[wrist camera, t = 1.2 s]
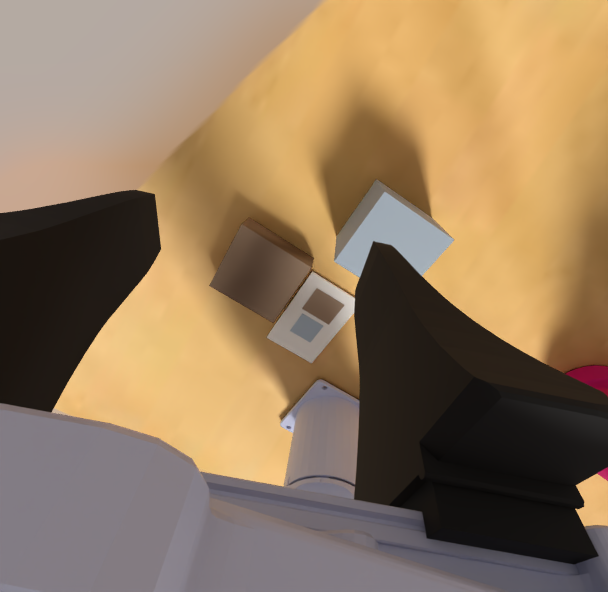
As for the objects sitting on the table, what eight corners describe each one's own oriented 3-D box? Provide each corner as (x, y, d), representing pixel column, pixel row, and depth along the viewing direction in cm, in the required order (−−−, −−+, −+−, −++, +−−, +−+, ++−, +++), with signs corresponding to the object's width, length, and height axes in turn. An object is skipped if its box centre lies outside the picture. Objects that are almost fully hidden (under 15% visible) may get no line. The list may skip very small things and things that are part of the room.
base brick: (313, 258, 26) (311, 267, 24) (277, 310, 28) (273, 322, 27) (249, 217, 25) (241, 224, 23) (218, 275, 27) (209, 285, 26)
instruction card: (362, 302, 27) (362, 303, 27) (311, 362, 31) (311, 363, 30) (312, 270, 26) (312, 272, 26) (266, 336, 30) (266, 338, 30)
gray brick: (431, 217, 23) (454, 239, 18) (388, 269, 26) (398, 302, 21) (376, 178, 23) (384, 191, 18) (336, 236, 25) (334, 261, 20)
